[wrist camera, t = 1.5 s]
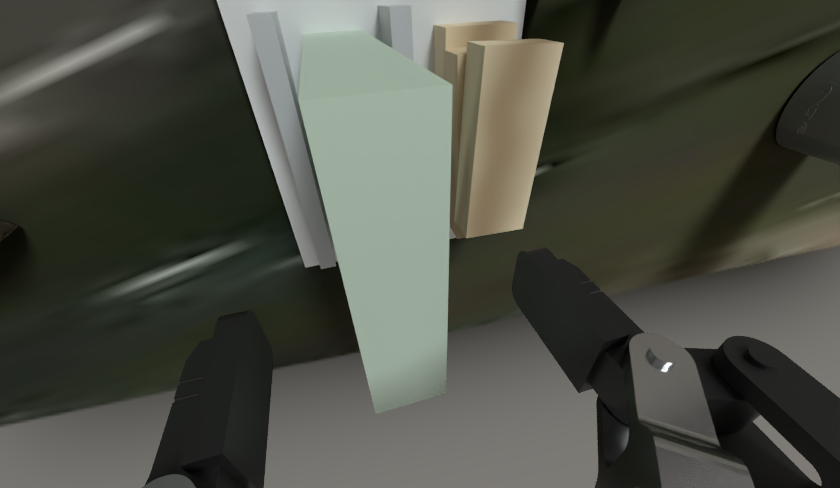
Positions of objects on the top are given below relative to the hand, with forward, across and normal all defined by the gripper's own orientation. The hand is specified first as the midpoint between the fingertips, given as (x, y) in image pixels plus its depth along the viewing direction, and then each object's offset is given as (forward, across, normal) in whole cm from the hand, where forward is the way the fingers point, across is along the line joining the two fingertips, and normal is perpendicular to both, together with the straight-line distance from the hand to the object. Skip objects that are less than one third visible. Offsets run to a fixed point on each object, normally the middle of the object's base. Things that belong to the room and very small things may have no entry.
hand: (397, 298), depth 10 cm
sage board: (+14, 0, 0) cm, 14 cm away
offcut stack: (+14, -8, 0) cm, 16 cm away
